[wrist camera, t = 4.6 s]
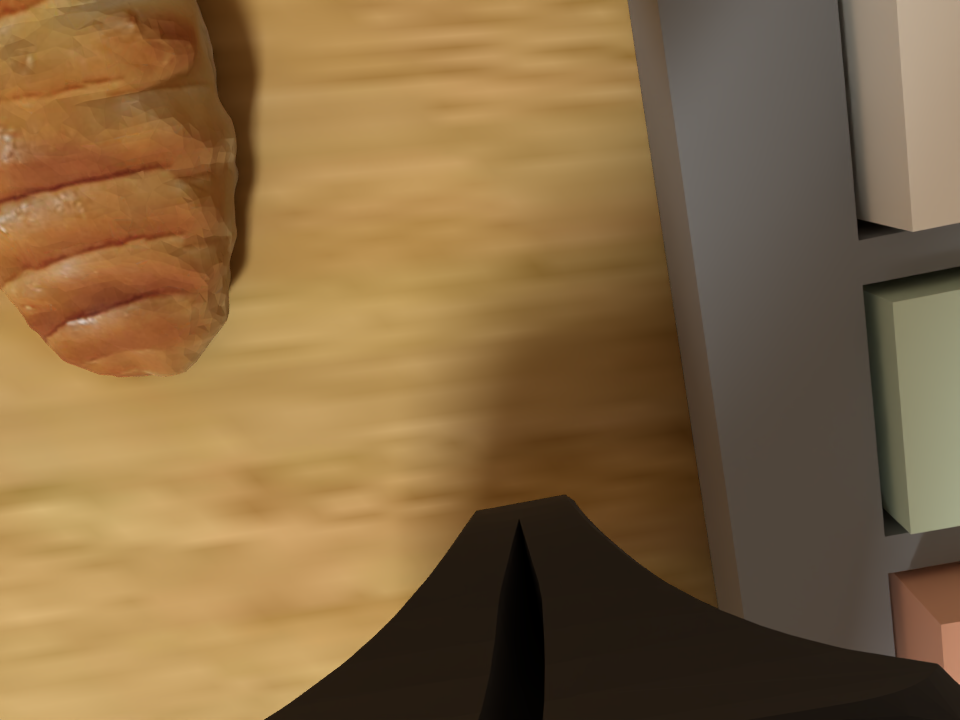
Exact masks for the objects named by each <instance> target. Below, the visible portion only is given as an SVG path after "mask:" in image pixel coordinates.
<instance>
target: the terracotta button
mask: <svg viewBox="0 0 960 720" xmlns="http://www.w3.org/2000/svg"><path fill="white" fill-rule="evenodd" d="M888 578H889V590H890V601H891V612H892V624H893V635H894V646H895V657H900V658H906V659H912V660H918V661H925V662H931V663H937V664H939V665H940V666H941V667H942V668H943V669H944V670H945V671H946V672H947V673H948V674H949V675H950V676H951V677H952V678H953V679H954V680H955V681H956V682H957V683H958V684H960V561H958V562H952V563H946V564H941V565H935V566H929V567H923V568H918V569H912V570H906V571H900V572H894V573H889V574H888Z"/></svg>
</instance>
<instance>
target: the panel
mask: <svg viewBox="0 0 960 720" xmlns="http://www.w3.org/2000/svg"><path fill="white" fill-rule="evenodd" d="M628 5H629V12H630V19H631V26H632V32H633V39H634V46H635V52H636V59H637V66H638V72H639V79H640V86H641V93H642V99H643V106H644V113H645V119H646V126H647V133H648V140H649V146H650V153H651V160H652V166H653V173H654V180H655V187H656V193H657V200H658V207H659V213H660V220H661V227H662V233H663V240H664V247H665V254H666V260H667V267H668V274H669V280H670V287H671V294H672V301H673V307H674V314H675V321H676V327H677V334H678V341H679V348H680V354H681V361H682V368H683V374H684V381H685V388H686V395H687V401H688V408H689V415H690V421H691V428H692V435H693V441H694V448H695V455H696V462H697V468H698V475H699V482H700V488H701V495H702V502H703V509H704V515H705V522H706V529H707V535H708V542H709V549H710V556H711V562H712V569H713V576H714V582H715V589H716V596H717V603H718V609H720V610H722V611H725V612H727V613H730V614H732V615H735V616H737V617H740V618H743V619H745V620H748V621H750V622H753V623H756V624H758V625H761V626H764V627H767V628H770V629H773V630H777V631H780V632H783V633H786V634H789V635H793V636H797V637H801V638H805V639H808V640H812V641H816V642H820V643H824V644H828V645H832V646H836V647H840V648H845V649H850V650H856V651H862V652H869V653H875V654H881V655H887V656H894V657H895V646H894V635H893V624H892V612H891V601H890V590H889V578H888V574H889V573H894V572H900V571H906V570H912V569H918V568H923V567H929V566H935V565H941V564H946V563H952V562H958V561H960V526H956V527H950V528H944V529H939V530H933V531H927V532H922V533H916V534H910V533H909V532H908V531H907V530H906V529H905V528H904V527H903V526H902V525H901V524H900V523H899V522H897V521H896V520H895V519H894V518H893V517H892V516H891V515H890V514H889V513H888V512H887V511H886V510H885V509H884V508H883V507H882V499H881V488H880V477H879V465H878V454H877V443H876V431H875V420H874V409H873V397H872V386H871V375H870V364H869V352H868V341H867V330H866V318H865V307H864V296H863V285H866V284H871V283H877V282H882V281H887V280H892V279H897V278H902V277H907V276H912V275H917V274H922V273H928V272H933V271H938V270H943V269H948V268H953V267H958V266H960V223H955V224H950V225H945V226H940V227H935V228H930V229H925V230H920V231H915V232H911V231H907V230H903V229H898V228H894V227H890V226H886V225H881V224H877V223H873V222H869V221H865V220H860V219H857V217H856V205H855V194H854V183H853V171H852V160H851V149H850V137H849V126H848V115H847V104H846V92H845V81H844V70H843V58H842V47H841V36H840V24H839V13H838V2H837V0H628Z"/></svg>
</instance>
